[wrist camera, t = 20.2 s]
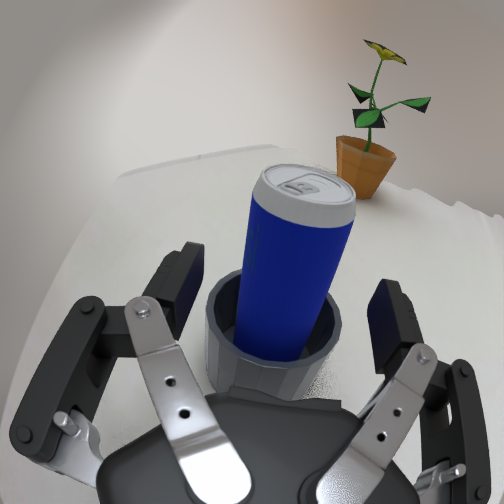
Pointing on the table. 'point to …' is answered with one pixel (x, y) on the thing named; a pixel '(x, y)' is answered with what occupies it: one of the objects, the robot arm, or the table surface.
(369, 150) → the potted plant
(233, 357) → the grey pen holder cup
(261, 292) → the beverage can
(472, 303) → the table surface
